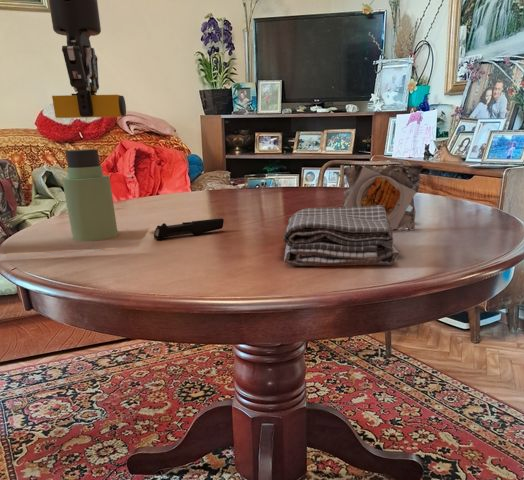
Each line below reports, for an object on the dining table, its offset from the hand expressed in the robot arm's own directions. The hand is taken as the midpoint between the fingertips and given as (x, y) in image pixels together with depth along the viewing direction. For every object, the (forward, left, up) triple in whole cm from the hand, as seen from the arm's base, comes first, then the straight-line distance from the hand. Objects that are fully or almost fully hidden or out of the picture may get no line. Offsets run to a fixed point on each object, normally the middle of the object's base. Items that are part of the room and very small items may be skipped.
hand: (89, 116), depth 89 cm
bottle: (-4, +8, -24) cm, 25 cm away
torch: (0, 0, 0) cm, 0 cm away
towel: (+42, -15, -24) cm, 50 cm away
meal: (+55, +5, -24) cm, 60 cm away
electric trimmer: (+15, +11, -24) cm, 30 cm away
